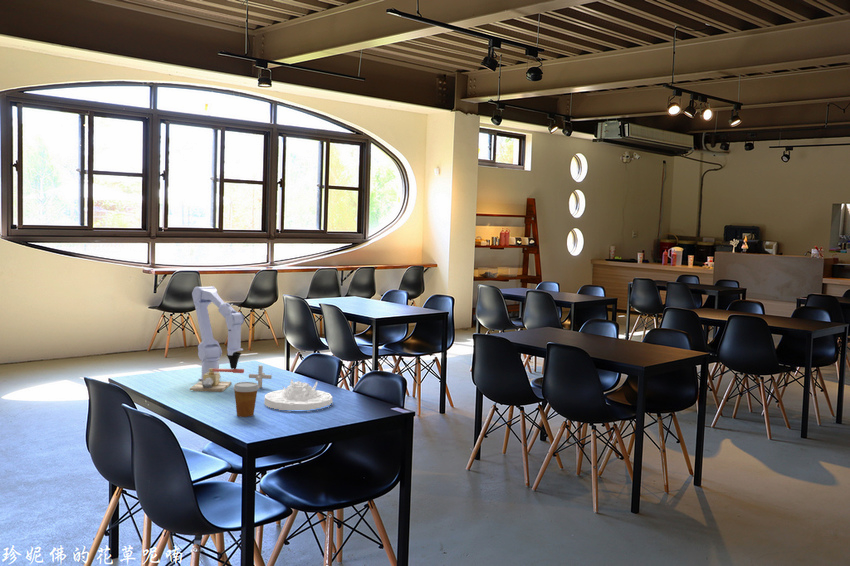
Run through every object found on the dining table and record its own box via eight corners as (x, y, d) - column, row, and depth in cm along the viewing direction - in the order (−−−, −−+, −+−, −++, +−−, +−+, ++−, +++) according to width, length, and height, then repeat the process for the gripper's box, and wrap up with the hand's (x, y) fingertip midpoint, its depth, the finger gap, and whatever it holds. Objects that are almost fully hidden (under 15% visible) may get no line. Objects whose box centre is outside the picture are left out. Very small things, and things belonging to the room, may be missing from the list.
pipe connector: (268, 390, 317) (268, 368, 316) (246, 389, 317) (246, 367, 316) (273, 385, 327) (274, 364, 326) (252, 384, 327) (252, 363, 326)
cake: (277, 415, 276) (278, 390, 276) (255, 399, 300) (256, 377, 299) (343, 409, 290) (343, 386, 290) (317, 394, 314) (317, 373, 314)
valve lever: (208, 371, 316) (208, 368, 316) (209, 370, 318) (209, 367, 318) (242, 373, 316) (242, 370, 316) (244, 372, 318) (244, 369, 318)
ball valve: (210, 382, 325) (210, 368, 325) (222, 382, 325) (222, 368, 325) (199, 389, 309) (199, 374, 309) (212, 390, 309) (212, 375, 309)
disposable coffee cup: (232, 418, 267) (233, 387, 266) (232, 412, 276) (233, 381, 275) (258, 417, 270) (259, 386, 269) (257, 411, 279) (258, 381, 278)
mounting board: (200, 383, 325) (200, 380, 325) (231, 384, 326) (231, 381, 325) (189, 390, 309) (189, 387, 309) (221, 391, 310) (222, 389, 309)
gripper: (239, 341, 316) (238, 371, 317) (246, 337, 330) (246, 365, 331) (223, 341, 316) (222, 371, 317) (231, 336, 330) (230, 365, 331)
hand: (233, 368), depth 324 cm, fingers closed
